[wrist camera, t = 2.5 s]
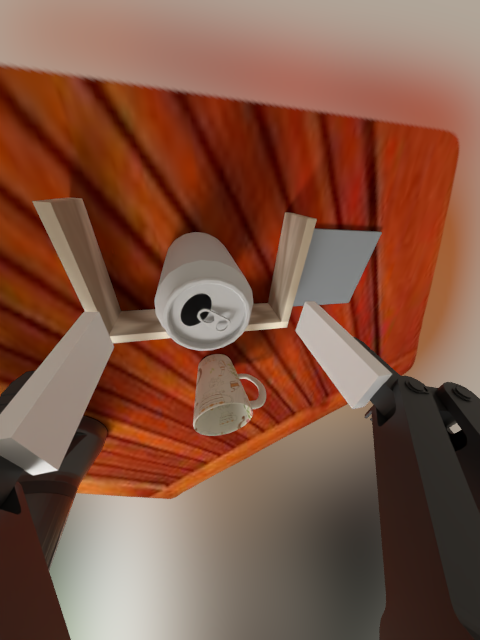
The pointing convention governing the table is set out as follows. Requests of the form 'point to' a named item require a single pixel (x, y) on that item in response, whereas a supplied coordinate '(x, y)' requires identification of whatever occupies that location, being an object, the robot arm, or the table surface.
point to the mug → (222, 397)
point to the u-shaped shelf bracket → (138, 325)
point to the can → (202, 294)
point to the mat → (334, 265)
